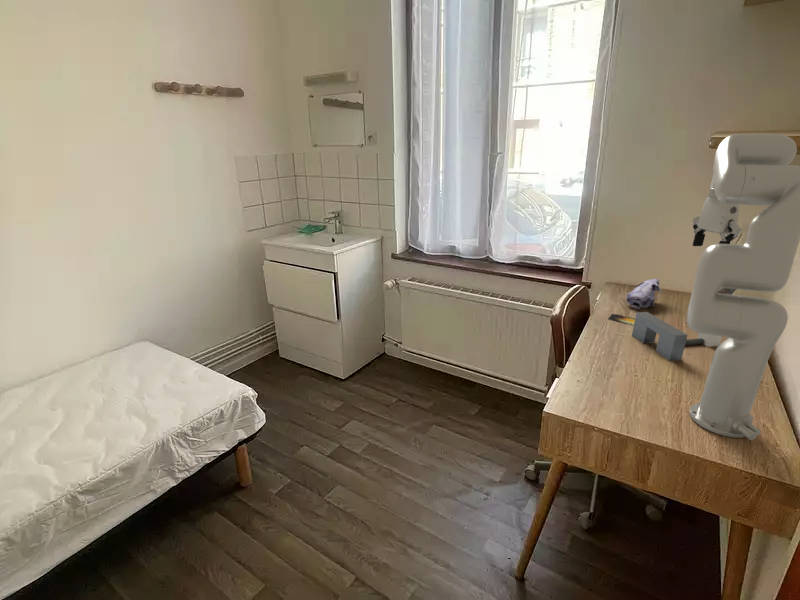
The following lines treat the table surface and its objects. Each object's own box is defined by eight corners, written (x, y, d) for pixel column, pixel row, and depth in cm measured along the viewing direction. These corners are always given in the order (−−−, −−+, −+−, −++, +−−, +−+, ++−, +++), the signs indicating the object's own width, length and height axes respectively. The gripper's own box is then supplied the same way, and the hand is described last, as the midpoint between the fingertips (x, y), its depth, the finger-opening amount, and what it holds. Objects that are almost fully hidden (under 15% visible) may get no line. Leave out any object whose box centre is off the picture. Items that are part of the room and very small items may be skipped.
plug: (719, 345, 143) (723, 333, 141) (673, 349, 140) (677, 336, 139) (708, 339, 147) (712, 327, 145) (664, 343, 145) (667, 330, 143)
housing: (681, 359, 134) (687, 334, 131) (669, 360, 133) (675, 335, 130) (642, 334, 150) (647, 312, 147) (631, 335, 150) (636, 312, 147)
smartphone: (612, 313, 168) (656, 322, 159) (612, 315, 168) (655, 324, 159) (607, 319, 163) (652, 329, 154) (607, 320, 163) (652, 330, 154)
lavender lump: (666, 304, 177) (671, 281, 174) (645, 314, 168) (650, 290, 164) (641, 297, 185) (646, 275, 181) (620, 306, 175) (625, 283, 171)
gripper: (760, 198, 125) (743, 256, 131) (711, 191, 141) (698, 242, 147) (736, 198, 124) (721, 257, 130) (690, 191, 140) (678, 243, 146)
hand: (709, 249), depth 139 cm, fingers open, 9 cm apart
